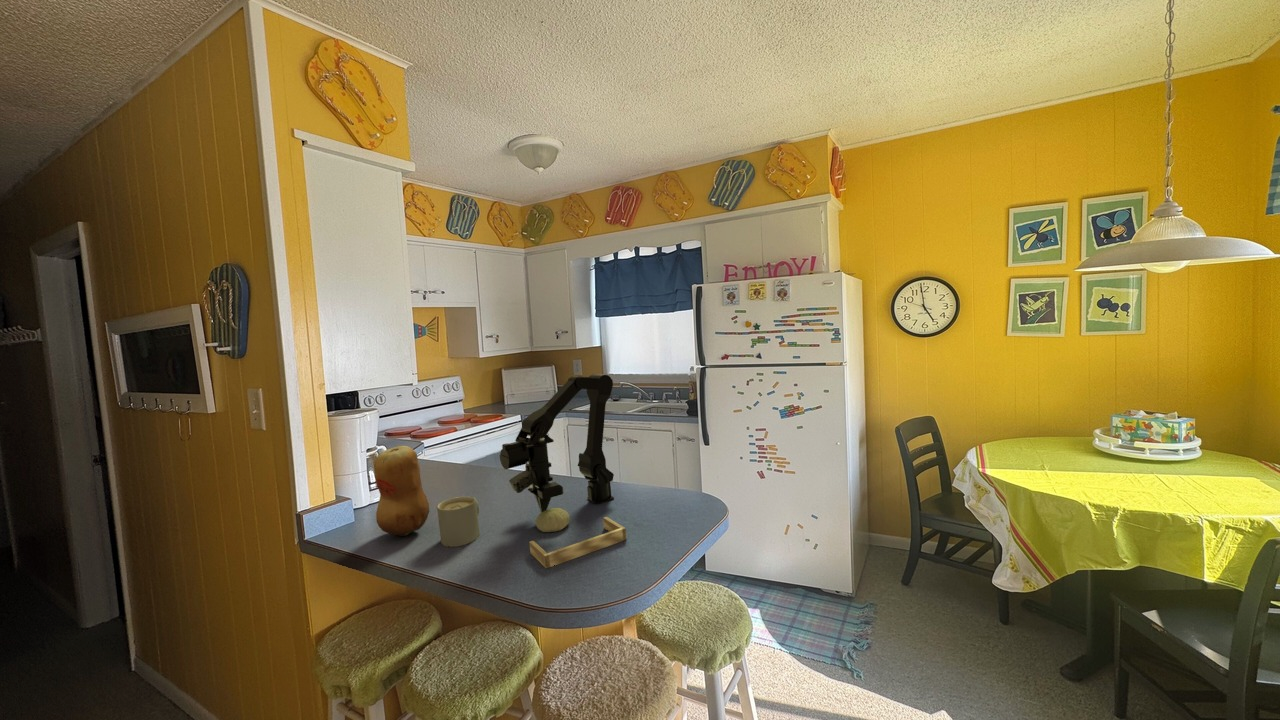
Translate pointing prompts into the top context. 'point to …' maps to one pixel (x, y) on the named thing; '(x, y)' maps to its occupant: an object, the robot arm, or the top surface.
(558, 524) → the sea urchin shell
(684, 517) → the top surface
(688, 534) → the top surface
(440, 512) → the coffee mug
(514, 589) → the top surface
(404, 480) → the butternut squash
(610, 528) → the box
